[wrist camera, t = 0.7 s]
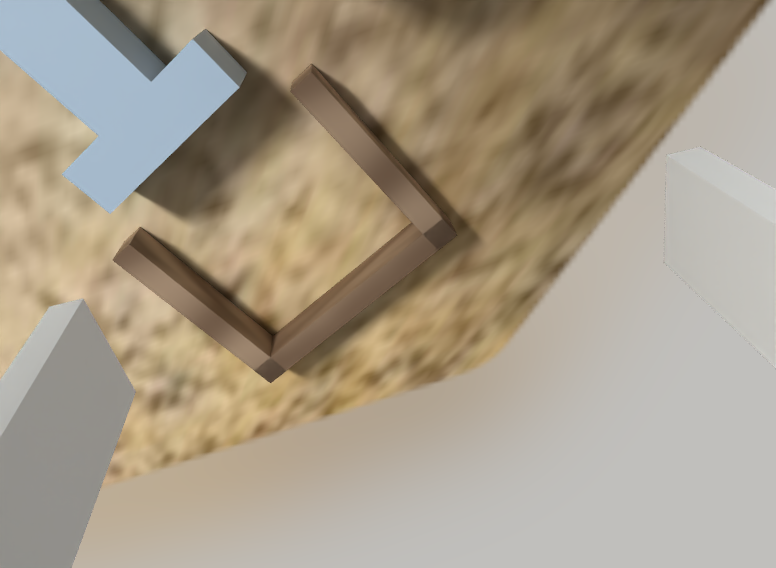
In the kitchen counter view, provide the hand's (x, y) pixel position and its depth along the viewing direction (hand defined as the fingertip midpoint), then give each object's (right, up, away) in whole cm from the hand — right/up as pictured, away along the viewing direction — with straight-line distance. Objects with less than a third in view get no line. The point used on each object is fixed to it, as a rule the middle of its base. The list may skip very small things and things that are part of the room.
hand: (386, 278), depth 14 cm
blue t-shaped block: (-15, +12, +19) cm, 27 cm away
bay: (-6, +3, +25) cm, 26 cm away
